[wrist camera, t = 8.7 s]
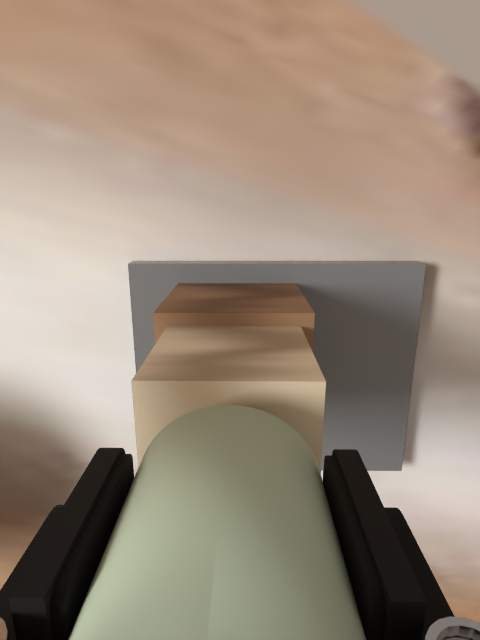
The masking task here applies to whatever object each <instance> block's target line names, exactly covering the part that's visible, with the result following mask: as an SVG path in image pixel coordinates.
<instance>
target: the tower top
mask: <svg viewBox="0 0 480 640" xmlns="http://www.w3.org/2000/svg"><path fill="white" fill-rule="evenodd" d="M325 391H326V380H325V378H324V376H323V374H322V372H321V369H320V367H319V365H318V363H317V361H316V359H315V356H314V354H313V352H312V350H311V348H310V345H309V343H308V341H307V339H306V337H305V334H304V332H303V330H302V328H301V326H167V327H166V328H165V330H164V331H163V333H162V334H161V336H160V338H159V339H158V341H157V342H156V344H155V345H154V347H153V348H152V350H151V352H150V353H149V355H148V356H147V358H146V359H145V361H144V362H143V364H142V365H141V367H140V369H139V370H138V372H137V373H136V375H135V376H134V378H133V379H132V393H133V406H134V418H135V431H136V444H137V457H138V468H139V465H140V463H141V460H142V458H143V456H144V454H145V452H146V450H147V448H148V446H149V445H150V443H151V442H152V440H153V439H154V437H155V436H156V435H157V434H158V433H159V432H160V431H161V430H162V429H163V428H164V427H166V426H167V425H168V424H169V423H171V422H172V421H174V420H175V419H177V418H179V417H180V416H182V415H185V414H187V413H189V412H191V411H194V410H198V409H201V408H205V407H210V406H217V405H239V406H246V407H251V408H255V409H258V410H262V411H265V412H267V413H269V414H272V415H274V416H276V417H278V418H279V419H281V420H283V421H284V422H286V423H287V424H289V425H290V426H291V427H292V428H294V429H295V430H296V431H297V432H298V433H299V434H300V435H301V436H302V437H303V438H304V440H305V441H306V443H307V444H308V445H309V447H310V448H311V450H312V452H313V454H314V456H315V458H316V461H317V464H318V467H319V471H320V474H321V458H322V441H323V424H324V407H325Z"/></svg>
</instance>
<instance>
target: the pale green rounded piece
mask: <svg viewBox="0 0 480 640" xmlns="http://www.w3.org/2000/svg"><path fill="white" fill-rule="evenodd" d="M68 640H366V636H365V632H364V629H363V625H362V622H361V618H360V614H359V611H358V607H357V604H356V600H355V596H354V593H353V589H352V586H351V582H350V579H349V575H348V571H347V568H346V564H345V561H344V557H343V553H342V550H341V546H340V543H339V539H338V535H337V532H336V528H335V525H334V521H333V517H332V514H331V510H330V507H329V503H328V500H327V496H326V492H325V489H324V485H323V482H322V478H321V474H320V471H319V467H318V464H317V461H316V458H315V456H314V454H313V452H312V450H311V448H310V447H309V445H308V444H307V443H306V441H305V440H304V438H303V437H302V436H301V435H300V434H299V433H298V432H297V431H296V430H295V429H294V428H292V427H291V426H290V425H289V424H287V423H286V422H284V421H283V420H281V419H279V418H278V417H276V416H274V415H272V414H269V413H267V412H265V411H262V410H258V409H255V408H251V407H246V406H239V405H217V406H210V407H205V408H201V409H198V410H194V411H191V412H189V413H187V414H185V415H182V416H180V417H179V418H177V419H175V420H174V421H172V422H171V423H169V424H168V425H167V426H166V427H164V428H163V429H162V430H161V431H160V432H159V433H158V434H157V435H156V436H155V437H154V439H153V440H152V442H151V443H150V445H149V446H148V448H147V450H146V452H145V454H144V456H143V458H142V460H141V463H140V465H139V468H138V470H137V473H136V475H135V478H134V480H133V483H132V485H131V487H130V490H129V492H128V495H127V497H126V500H125V502H124V505H123V507H122V509H121V512H120V514H119V517H118V519H117V522H116V524H115V527H114V529H113V531H112V534H111V536H110V539H109V541H108V544H107V546H106V549H105V551H104V554H103V556H102V558H101V561H100V563H99V566H98V568H97V571H96V573H95V576H94V578H93V580H92V583H91V585H90V588H89V590H88V593H87V595H86V598H85V600H84V602H83V605H82V607H81V610H80V612H79V615H78V617H77V620H76V622H75V625H74V627H73V629H72V632H71V634H70V637H69V639H68Z"/></svg>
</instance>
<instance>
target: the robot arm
mask: <svg viewBox="0 0 480 640" xmlns="http://www.w3.org/2000/svg"><path fill="white" fill-rule="evenodd" d="M133 480H134V470H133V459H132V455H131V454H125V451H124V449H123V448H99V449H98V450H97V452H96V453H95V455H94V457H93V458H92V460H91V462H90V463H89V465H88V467H87V468H86V470H85V472H84V473H83V475H82V477H81V478H80V480H79V482H78V483H77V485H76V486H75V488H74V490H73V491H72V493H71V495H70V496H69V498H68V500H67V501H66V503H65V505H57V506H56V507H54V508H53V510H52V511H51V512H50V514H49V515H48V517H47V518H46V520H45V521H44V523H43V525H42V526H41V528H40V529H39V531H38V532H37V534H36V536H35V537H34V539H33V540H32V542H31V543H30V545H29V546H28V548H27V550H26V551H25V553H24V554H23V556H22V557H21V559H20V561H19V562H18V564H17V565H16V567H15V568H14V570H13V572H12V573H11V575H10V576H9V578H8V579H7V581H6V583H5V584H4V586H3V587H2V589H1V590H0V640H68V639H69V637H70V634H71V632H72V629H73V627H74V625H75V622H76V620H77V617H78V615H79V612H80V610H81V607H82V605H83V602H84V600H85V598H86V595H87V593H88V590H89V588H90V585H91V583H92V580H93V578H94V576H95V573H96V571H97V568H98V566H99V563H100V561H101V558H102V556H103V554H104V551H105V549H106V546H107V544H108V541H109V539H110V536H111V534H112V531H113V529H114V527H115V524H116V522H117V519H118V517H119V514H120V512H121V509H122V507H123V505H124V502H125V500H126V497H127V495H128V492H129V490H130V487H131V485H132V483H133ZM323 485H324V489H325V492H326V496H327V500H328V503H329V507H330V510H331V514H332V517H333V521H334V525H335V528H336V532H337V535H338V539H339V543H340V546H341V550H342V553H343V557H344V561H345V564H346V568H347V571H348V575H349V579H350V582H351V586H352V589H353V593H354V596H355V600H356V604H357V607H358V611H359V614H360V618H361V622H362V625H363V629H364V632H365V636H366V640H480V623H478V622H475V621H472V620H469V619H467V618H462V617H454V615H453V613H452V611H451V609H450V607H449V605H448V603H447V601H446V599H445V597H444V595H443V593H442V591H441V589H440V587H439V585H438V583H437V581H436V579H435V577H434V575H433V573H432V571H431V569H430V567H429V565H428V563H427V562H426V560H425V558H424V556H423V554H422V552H421V550H420V548H419V546H418V544H417V542H416V540H415V538H414V536H413V534H412V532H411V530H410V528H409V526H408V524H407V522H406V520H405V518H404V516H403V514H402V513H401V511H400V510H399V509H397V508H384V507H383V504H382V502H381V500H380V498H379V496H378V493H377V491H376V489H375V487H374V485H373V483H372V480H371V478H370V476H369V474H368V472H367V469H366V467H365V465H364V463H363V461H362V458H361V456H360V454H359V452H358V450H356V449H334V450H333V452H332V455H326V456H325V458H324V470H323Z"/></svg>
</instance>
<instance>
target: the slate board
mask: <svg viewBox="0 0 480 640" xmlns="http://www.w3.org/2000/svg"><path fill="white" fill-rule="evenodd" d="M128 269H129V283H130V296H131V309H132V323H133V336H134V350H135V363H136V373H137V372H138V370H139V369H140V367H141V365H142V364H143V362H144V361H145V359H146V358H147V356H148V355H149V353H150V352H151V350H152V348H153V347H154V345H155V339H154V322H153V312H154V311H155V310H156V309H157V308H158V306H159V305H160V304H161V303H162V302H163V301H164V299H165V298H166V297H167V296H168V295H169V294H170V292H171V291H172V290H173V289H174V288H175V287H176V285H177V284H178V283H296V285H297V286H298V288H299V289H300V291H301V292H302V294H303V296H304V297H305V299H306V300H307V302H308V303H309V305H310V307H311V308H312V310H313V311H314V313H315V320H314V340H313V354H314V356H315V359H316V361H317V363H318V365H319V367H320V369H321V372H322V374H323V376H324V378H325V380H326V391H325V407H324V424H323V441H322V458H321V470H324V458H325V456H326V455H332V452H333V450H334V449H356V450H358V452H359V454H360V456H361V458H362V461H363V463H364V465H365V467H366V469H367V471H401V469H402V461H403V453H404V444H405V436H406V428H407V419H408V411H409V403H410V394H411V386H412V378H413V370H414V361H415V353H416V345H417V336H418V328H419V320H420V311H421V303H422V295H423V287H424V278H425V270H426V264H425V263H422V262H419V261H133V262H131V263H129V264H128Z"/></svg>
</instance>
